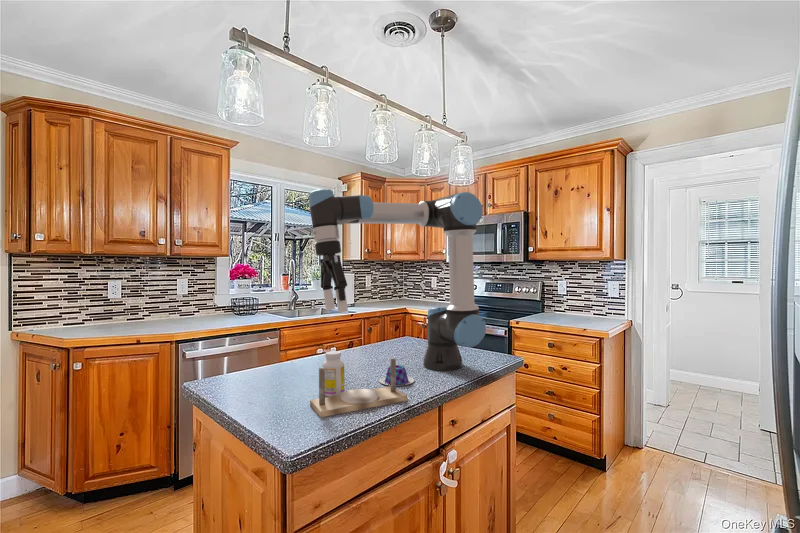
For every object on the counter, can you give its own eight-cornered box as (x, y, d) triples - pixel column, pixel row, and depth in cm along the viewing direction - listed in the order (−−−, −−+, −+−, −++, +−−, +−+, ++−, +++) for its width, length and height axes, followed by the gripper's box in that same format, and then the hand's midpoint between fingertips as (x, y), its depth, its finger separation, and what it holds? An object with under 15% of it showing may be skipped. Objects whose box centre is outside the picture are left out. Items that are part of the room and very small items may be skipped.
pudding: (420, 384, 132) (420, 368, 132) (388, 390, 127) (388, 373, 127) (404, 375, 143) (403, 360, 143) (373, 380, 137) (373, 365, 137)
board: (390, 390, 125) (390, 354, 125) (408, 401, 116) (407, 361, 115) (309, 404, 113) (309, 364, 113) (321, 418, 103) (320, 374, 103)
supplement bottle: (339, 389, 127) (339, 349, 126) (348, 395, 121) (347, 353, 121) (319, 393, 123) (319, 351, 123) (327, 399, 117) (327, 356, 117)
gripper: (306, 246, 130) (314, 311, 130) (325, 237, 107) (336, 315, 107) (328, 244, 133) (336, 307, 133) (351, 235, 110) (362, 310, 110)
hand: (336, 311), depth 120 cm, fingers open, 13 cm apart
